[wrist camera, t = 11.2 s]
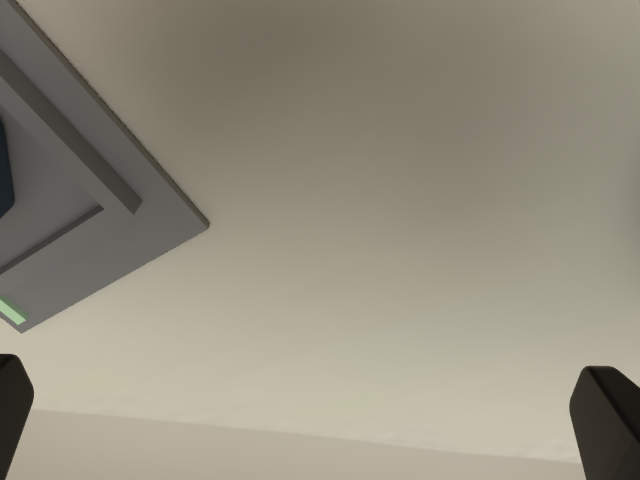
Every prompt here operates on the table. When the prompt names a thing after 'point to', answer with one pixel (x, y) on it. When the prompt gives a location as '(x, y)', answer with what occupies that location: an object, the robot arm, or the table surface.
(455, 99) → the table surface
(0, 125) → the vaping device
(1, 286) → the dock
